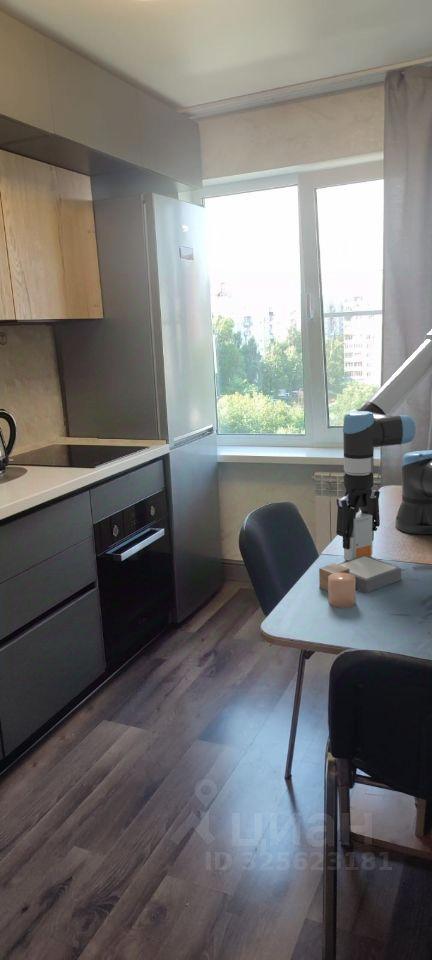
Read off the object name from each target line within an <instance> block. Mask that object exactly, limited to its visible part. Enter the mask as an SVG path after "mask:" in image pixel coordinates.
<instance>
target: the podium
mask: <svg viewBox="0 0 432 960" xmlns="http://www.w3.org/2000/svg"><path fill="white" fill-rule="evenodd" d="M337 564H338V565H341V566H343V567H346V568H349V569H350V574H352V575H354V576H355V590H358V591H361V592H363V593H366V594H368V593H369V592H372V591H375V590H377V589H380V588H383V587H385V586H389V585H390V584H393V583H395V582H399V581H401V580H402V567H399V566H397V565H394V564H391V563H387V562H385V561H383V560H379V559H376V558H374V557H372V558H371V557H368V556H365V555H364V556H361V557H358V558H355V559H352V560H346V561H343V562H340V563H337Z"/></svg>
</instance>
